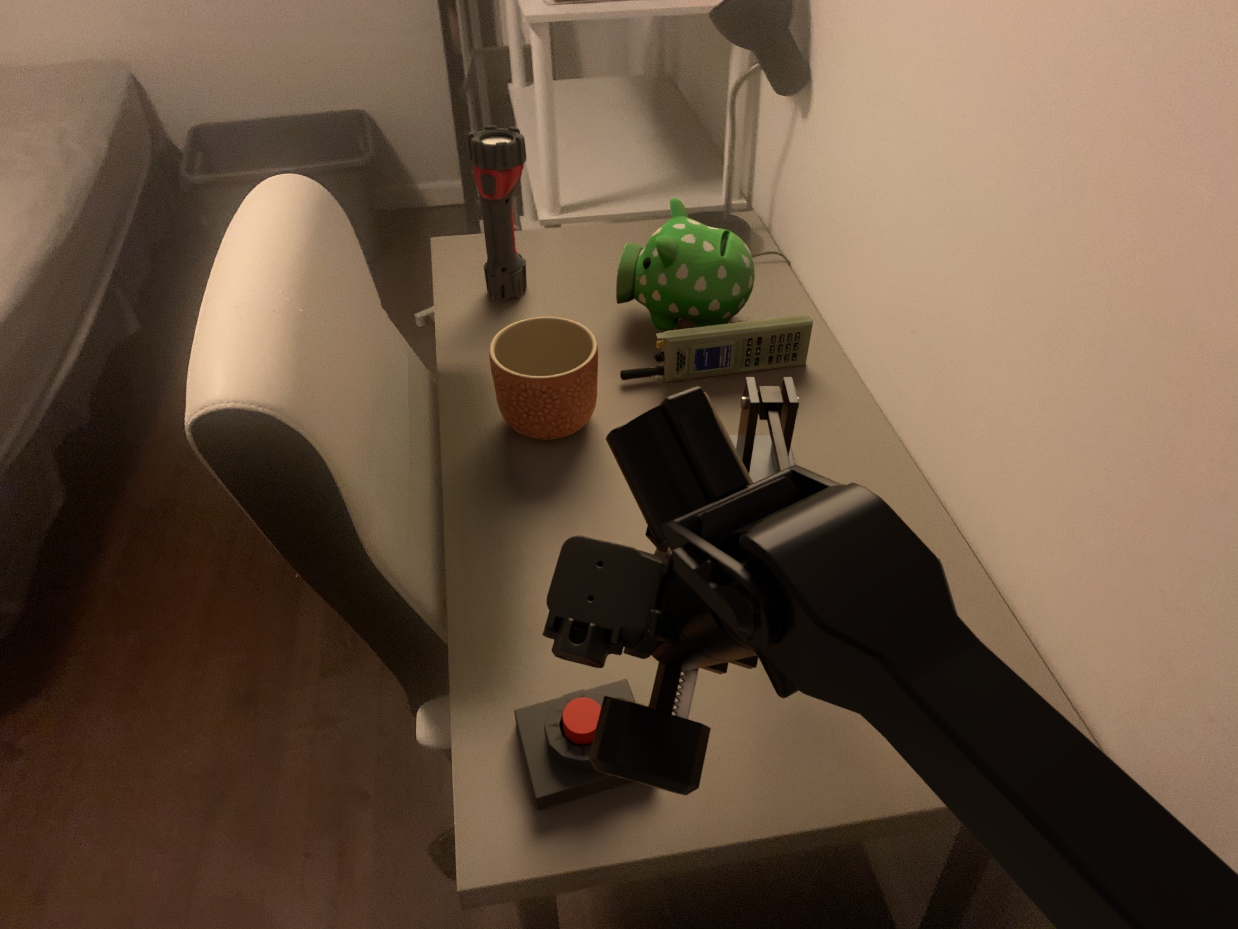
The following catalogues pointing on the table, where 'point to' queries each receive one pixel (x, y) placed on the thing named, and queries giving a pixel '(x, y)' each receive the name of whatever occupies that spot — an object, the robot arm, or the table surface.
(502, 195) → the flashlight
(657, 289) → the piggy bank
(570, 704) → the stop button
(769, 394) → the power lever
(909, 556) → the robot arm
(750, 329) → the handheld radio
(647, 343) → the table surface
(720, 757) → the table surface
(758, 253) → the table surface
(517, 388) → the planter
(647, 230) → the table surface
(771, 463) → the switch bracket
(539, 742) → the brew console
